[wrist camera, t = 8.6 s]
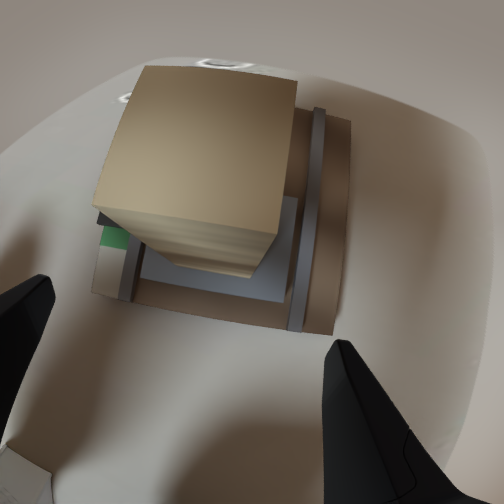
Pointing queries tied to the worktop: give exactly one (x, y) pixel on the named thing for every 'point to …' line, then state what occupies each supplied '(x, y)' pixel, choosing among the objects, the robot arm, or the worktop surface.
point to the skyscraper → (22, 480)
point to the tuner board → (302, 252)
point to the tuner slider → (205, 179)
